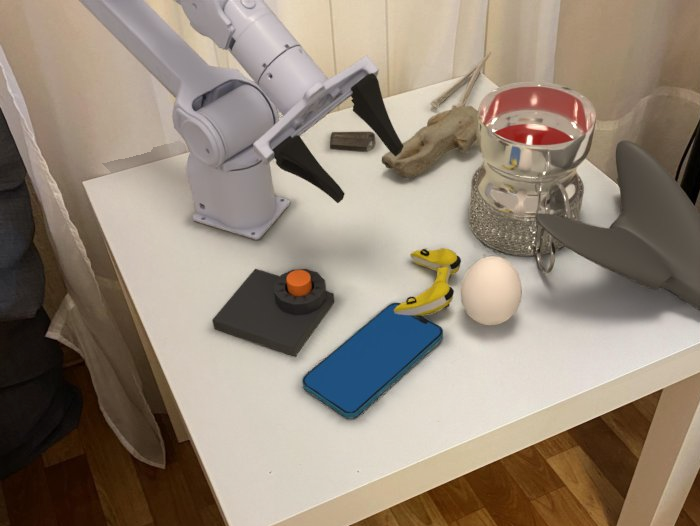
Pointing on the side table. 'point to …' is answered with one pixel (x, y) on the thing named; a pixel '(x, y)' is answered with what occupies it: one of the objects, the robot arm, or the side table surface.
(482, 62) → the tweezers
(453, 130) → the sculpture
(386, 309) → the smartphone
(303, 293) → the button
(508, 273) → the egg
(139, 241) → the side table surface
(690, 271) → the propeller
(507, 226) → the silver candle holder
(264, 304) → the push button box
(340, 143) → the block
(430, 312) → the yellow curved piece
